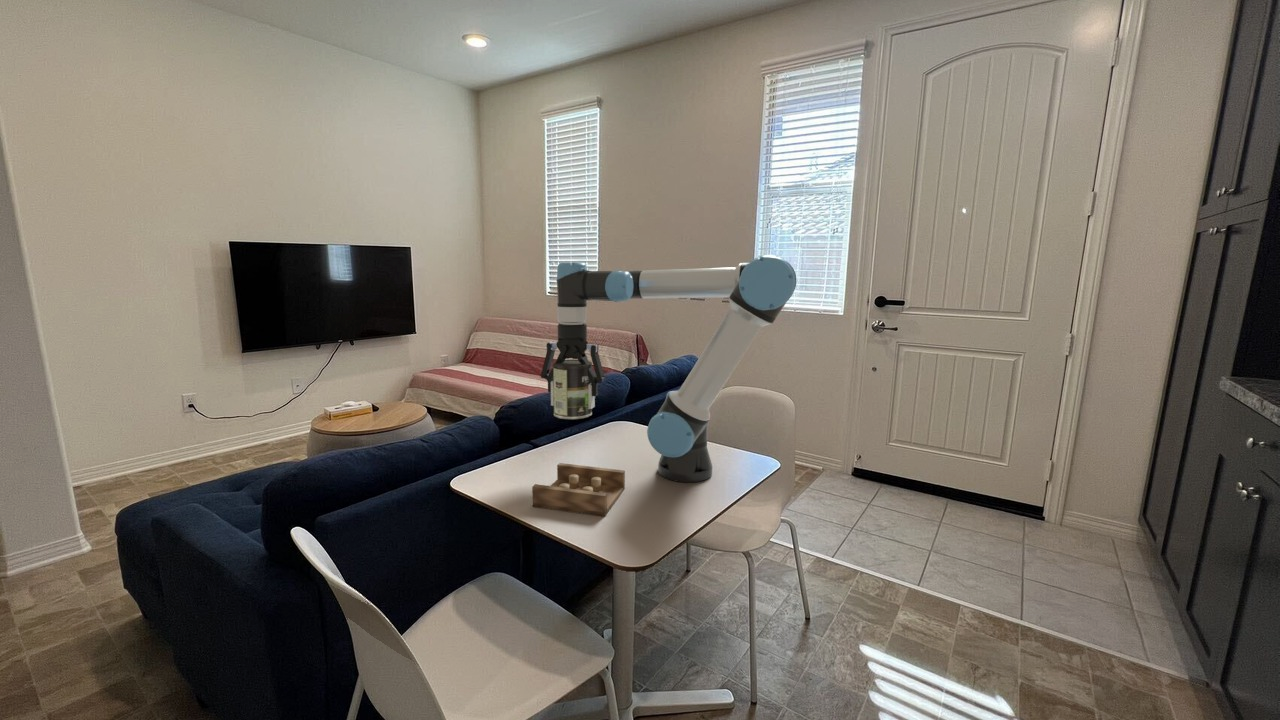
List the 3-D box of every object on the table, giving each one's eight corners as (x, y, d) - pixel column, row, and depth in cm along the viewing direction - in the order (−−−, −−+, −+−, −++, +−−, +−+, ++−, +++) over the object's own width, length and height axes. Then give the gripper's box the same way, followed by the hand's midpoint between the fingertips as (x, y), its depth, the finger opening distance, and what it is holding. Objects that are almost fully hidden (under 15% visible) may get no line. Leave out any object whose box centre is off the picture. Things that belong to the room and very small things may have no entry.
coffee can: (597, 410, 142) (596, 360, 140) (584, 421, 132) (584, 366, 130) (561, 408, 145) (561, 358, 142) (547, 418, 135) (546, 364, 132)
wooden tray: (624, 489, 133) (624, 470, 133) (604, 516, 118) (605, 496, 117) (559, 480, 138) (559, 462, 137) (532, 506, 123) (532, 486, 122)
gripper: (618, 323, 135) (617, 406, 139) (539, 320, 141) (540, 399, 145) (608, 326, 128) (608, 413, 132) (525, 322, 134) (527, 405, 138)
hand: (572, 406), depth 138 cm, fingers closed on coffee can, 10 cm apart
